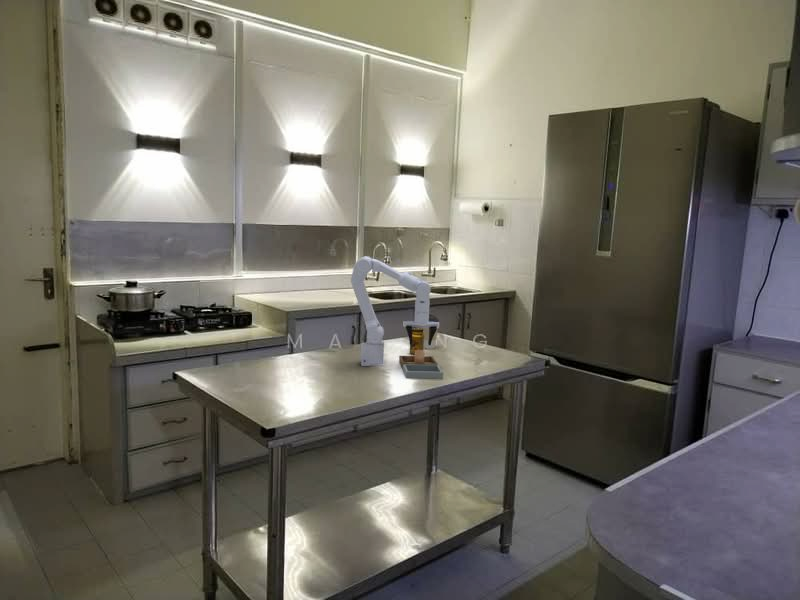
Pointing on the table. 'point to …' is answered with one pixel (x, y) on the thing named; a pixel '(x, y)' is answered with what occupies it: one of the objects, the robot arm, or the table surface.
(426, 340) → the coffee cup
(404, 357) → the bin
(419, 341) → the condiment
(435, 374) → the bin
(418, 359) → the orange tan cylinder
